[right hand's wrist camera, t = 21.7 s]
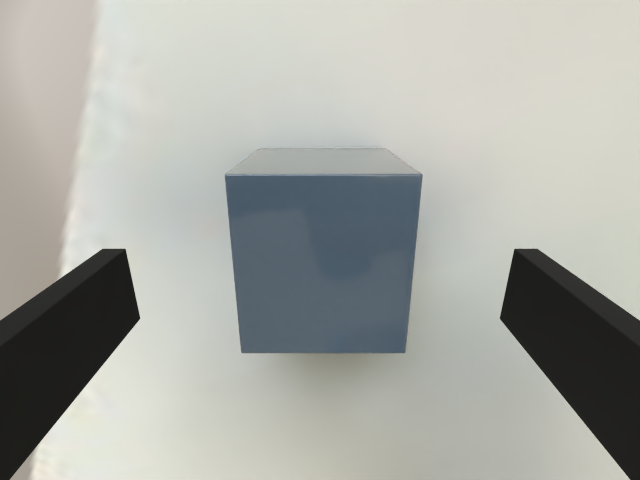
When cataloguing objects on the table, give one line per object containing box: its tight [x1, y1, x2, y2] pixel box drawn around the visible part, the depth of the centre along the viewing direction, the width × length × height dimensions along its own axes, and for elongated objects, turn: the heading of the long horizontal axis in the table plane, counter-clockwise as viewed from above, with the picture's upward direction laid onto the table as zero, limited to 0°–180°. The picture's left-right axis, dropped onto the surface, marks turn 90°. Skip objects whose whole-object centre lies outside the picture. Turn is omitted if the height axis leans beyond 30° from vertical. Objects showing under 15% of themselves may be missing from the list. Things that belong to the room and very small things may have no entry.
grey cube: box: [225, 149, 422, 353], centre depth 18 cm, size 8×7×8 cm
